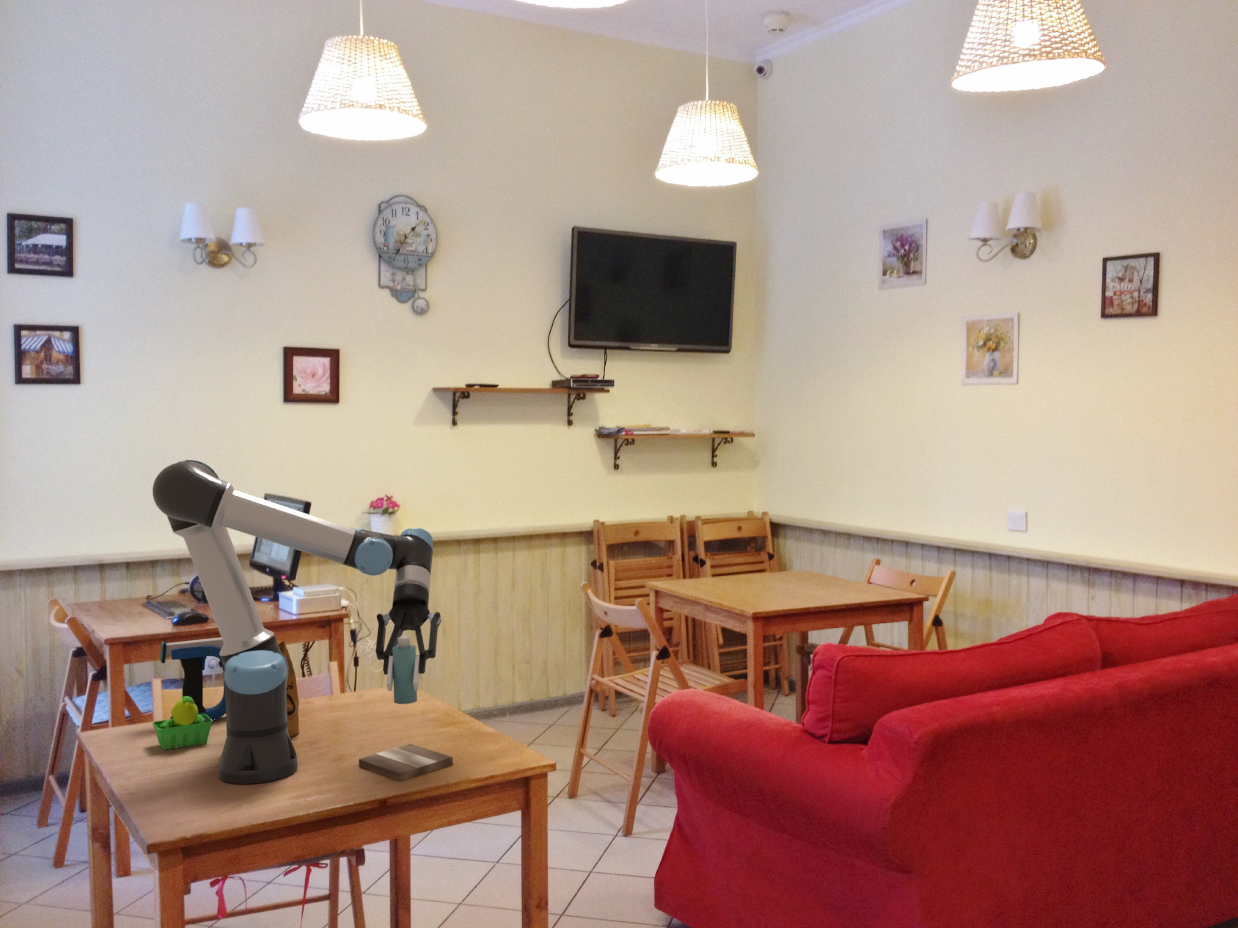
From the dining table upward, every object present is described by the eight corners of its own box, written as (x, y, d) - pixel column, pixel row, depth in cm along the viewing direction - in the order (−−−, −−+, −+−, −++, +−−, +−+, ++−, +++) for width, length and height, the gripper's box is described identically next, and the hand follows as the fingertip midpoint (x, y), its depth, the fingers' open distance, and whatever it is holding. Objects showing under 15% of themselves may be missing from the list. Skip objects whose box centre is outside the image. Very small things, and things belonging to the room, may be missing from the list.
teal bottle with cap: (403, 705, 212) (401, 641, 212) (389, 701, 215) (387, 638, 215) (421, 700, 216) (419, 637, 215) (407, 696, 219) (406, 634, 218)
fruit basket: (206, 735, 240) (204, 685, 239) (215, 744, 232) (213, 694, 232) (152, 744, 233) (150, 693, 233) (159, 754, 226) (158, 702, 225)
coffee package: (274, 745, 231) (271, 645, 230) (233, 738, 237) (230, 640, 236) (307, 732, 240) (304, 636, 239) (266, 726, 246) (264, 632, 245)
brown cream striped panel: (400, 780, 207) (400, 772, 207) (359, 766, 216) (358, 758, 216) (452, 764, 216) (452, 756, 216) (410, 750, 226) (410, 743, 226)
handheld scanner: (162, 722, 250) (159, 640, 249) (234, 713, 257) (231, 634, 255) (162, 727, 246) (159, 644, 245) (235, 718, 253) (233, 637, 251)
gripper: (454, 600, 231) (448, 694, 215) (372, 603, 230) (360, 697, 214) (451, 580, 225) (444, 675, 209) (367, 582, 224) (355, 678, 208)
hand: (402, 686), depth 212 cm, fingers closed on teal bottle with cap, 4 cm apart
